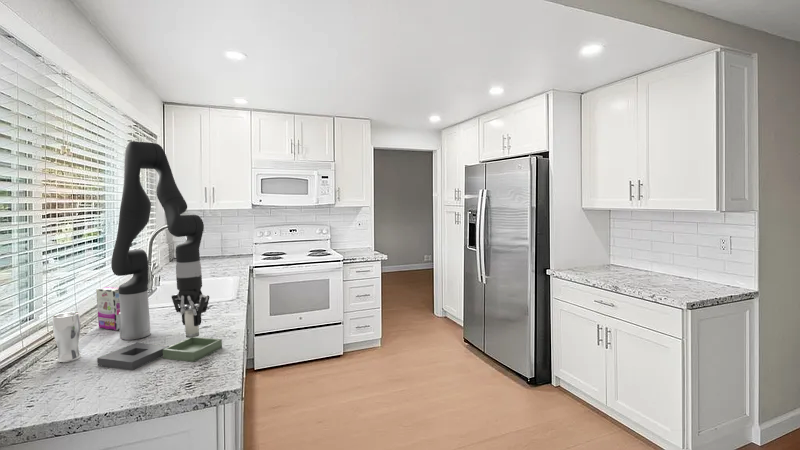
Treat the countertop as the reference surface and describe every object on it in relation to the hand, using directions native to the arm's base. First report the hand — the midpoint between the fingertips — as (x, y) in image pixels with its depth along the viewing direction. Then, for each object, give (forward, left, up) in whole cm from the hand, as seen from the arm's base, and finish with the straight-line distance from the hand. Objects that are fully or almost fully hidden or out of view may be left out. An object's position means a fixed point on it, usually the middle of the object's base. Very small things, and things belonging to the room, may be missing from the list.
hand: (192, 324), depth 137 cm
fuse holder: (-15, -9, -10) cm, 20 cm away
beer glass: (-37, -14, -10) cm, 41 cm away
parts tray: (0, 0, -10) cm, 10 cm away
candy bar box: (-54, +15, -10) cm, 57 cm away
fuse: (0, 0, -4) cm, 4 cm away
